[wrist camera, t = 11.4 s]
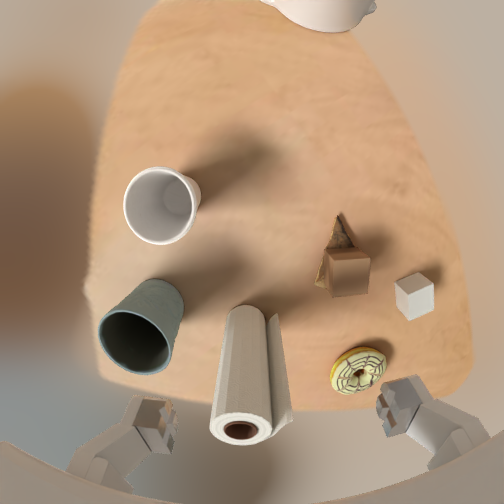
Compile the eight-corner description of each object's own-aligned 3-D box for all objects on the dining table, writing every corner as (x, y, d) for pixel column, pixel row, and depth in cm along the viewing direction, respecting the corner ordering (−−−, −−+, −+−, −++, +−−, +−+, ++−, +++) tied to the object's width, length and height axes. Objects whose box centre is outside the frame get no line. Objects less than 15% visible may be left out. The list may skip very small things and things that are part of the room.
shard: (334, 213, 38) (338, 215, 36) (378, 228, 39) (383, 230, 37) (310, 281, 41) (313, 286, 39) (354, 292, 42) (358, 297, 40)
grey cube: (394, 281, 41) (408, 294, 36) (418, 271, 40) (433, 283, 35) (396, 306, 42) (409, 321, 37) (419, 296, 42) (433, 309, 37)
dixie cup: (197, 234, 38) (180, 257, 29) (145, 212, 37) (114, 227, 28) (220, 179, 36) (209, 184, 27) (165, 157, 35) (137, 155, 26)
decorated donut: (371, 382, 48) (377, 394, 44) (322, 385, 47) (326, 399, 44) (388, 342, 44) (396, 353, 41) (335, 343, 44) (341, 357, 41)
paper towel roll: (221, 330, 43) (203, 439, 23) (232, 298, 41) (217, 407, 21) (264, 342, 44) (270, 452, 23) (277, 312, 42) (293, 422, 22)
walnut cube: (324, 249, 38) (334, 260, 33) (357, 247, 38) (370, 258, 33) (323, 282, 39) (332, 297, 34) (355, 279, 39) (367, 293, 34)
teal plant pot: (128, 316, 43) (97, 358, 31) (135, 263, 40) (98, 298, 28) (183, 336, 44) (165, 385, 32) (196, 284, 41) (177, 327, 29)
